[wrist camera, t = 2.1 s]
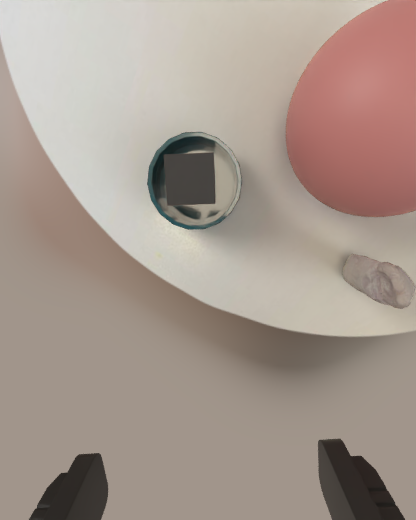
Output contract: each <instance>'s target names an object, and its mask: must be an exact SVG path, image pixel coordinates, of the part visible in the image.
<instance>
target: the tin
mask: <svg viewBox="0 0 416 520" xmlns="http://www.w3.org/2000/svg"><path fill="white" fill-rule="evenodd" d="M210 152H213V153H214V172H215V204H197V205H171V206H167V195H166V181H165V167H164V155H167V154H189V153H210ZM147 185H148V189H149V193H150V197H151V201H152V202H153V204H154V205H155V207H156V208H157V210H158V212H159V213H160V214H161V215H162V216H163V217H164V218H166V219H167V220H168V221H169V222H171V223H172V224H173V225H176V226H179V227H182V228H185V229H206V228H208V227H211V226H213V225H216V224H218V223H220V222H221V221H222V220H223V219H224V218H226V217H227V216H228V215H229V214H230V213H231V212H232V210H233V208H234V207H235V205H236V203H237V201H238V199H239V196H240V190H241V185H242V178H241V172H240V166H239V163H238V161H237V159H236V158H235V156H234V154H233V152H232V150H231V149H230V148H229V147H228V146H227V145H225V144H224V143H223V142H222V141H221V140H220V139H218V138H217V137H214V136H211V135H208V134H206V133H203V132H185V133H182V134H180V135H177V136H175V137H173V138H170V139H169V140H167V141H166V142H165V143H164V144H163V145H162V146H161V147H160V148H159V149H158V150H157V151H156V153H155V155H154V157H153V159H152V161H151V164H150V166H149V172H148V182H147Z"/></svg>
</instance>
